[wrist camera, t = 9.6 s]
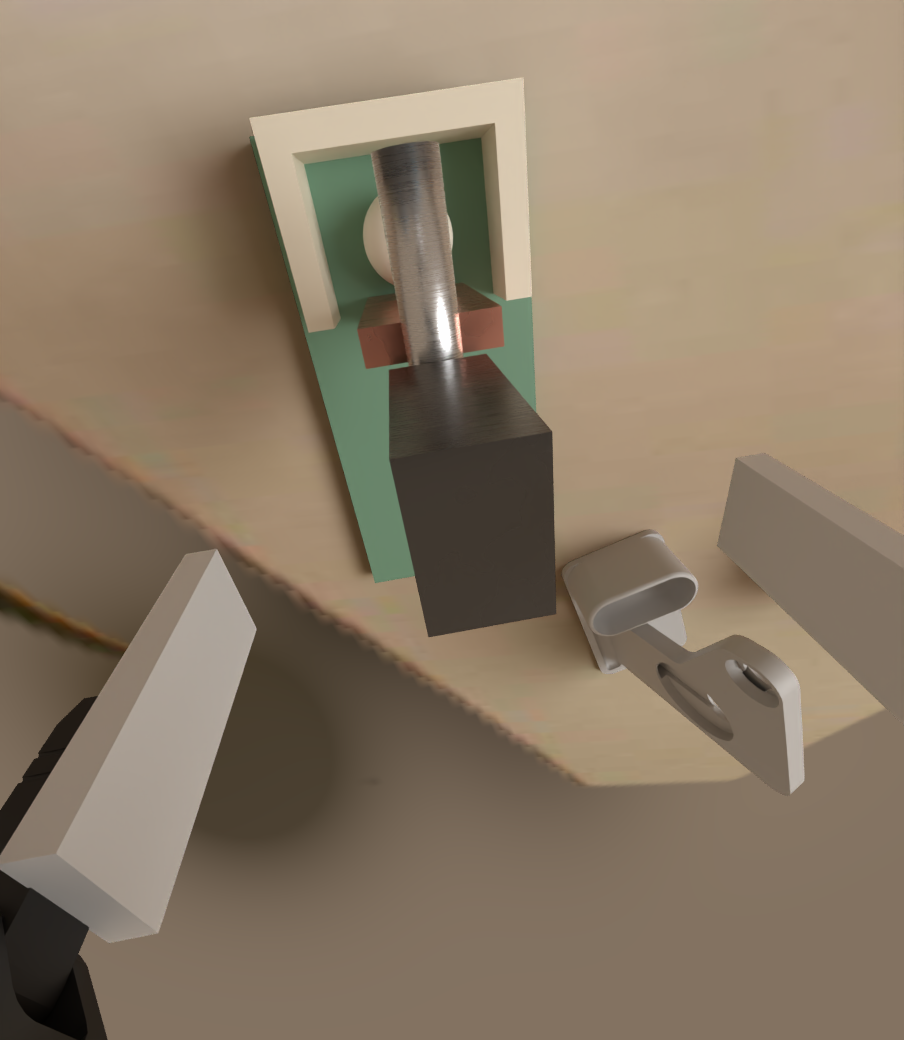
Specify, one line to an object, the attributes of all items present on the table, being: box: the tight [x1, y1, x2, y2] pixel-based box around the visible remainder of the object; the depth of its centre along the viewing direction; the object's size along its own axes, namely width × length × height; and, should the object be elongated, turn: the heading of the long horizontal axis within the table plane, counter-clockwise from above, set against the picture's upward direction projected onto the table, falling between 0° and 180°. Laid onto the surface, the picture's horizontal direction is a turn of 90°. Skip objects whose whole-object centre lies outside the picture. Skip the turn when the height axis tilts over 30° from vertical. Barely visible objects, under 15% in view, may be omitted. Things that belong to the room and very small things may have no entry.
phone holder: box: [562, 530, 804, 796], centre depth 41 cm, size 17×10×18 cm, turn 24°
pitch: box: [249, 77, 536, 583], centre depth 32 cm, size 31×15×6 cm, turn 8°
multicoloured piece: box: [357, 141, 556, 637], centre depth 21 cm, size 13×6×22 cm, turn 8°
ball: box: [363, 196, 453, 285], centre depth 26 cm, size 5×5×5 cm
